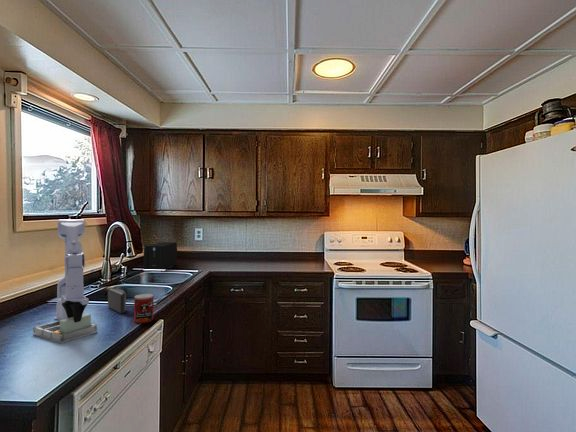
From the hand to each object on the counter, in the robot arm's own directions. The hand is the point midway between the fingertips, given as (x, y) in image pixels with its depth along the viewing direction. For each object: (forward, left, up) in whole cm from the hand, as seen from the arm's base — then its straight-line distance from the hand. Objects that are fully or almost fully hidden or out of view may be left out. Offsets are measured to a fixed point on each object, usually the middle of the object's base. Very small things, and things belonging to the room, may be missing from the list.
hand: (74, 320), depth 136 cm
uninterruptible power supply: (-92, +127, -6) cm, 156 cm away
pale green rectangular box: (0, +1, -3) cm, 3 cm away
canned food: (+7, +26, -6) cm, 28 cm away
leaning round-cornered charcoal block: (-17, +30, -6) cm, 35 cm away
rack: (-6, 0, -6) cm, 8 cm away
